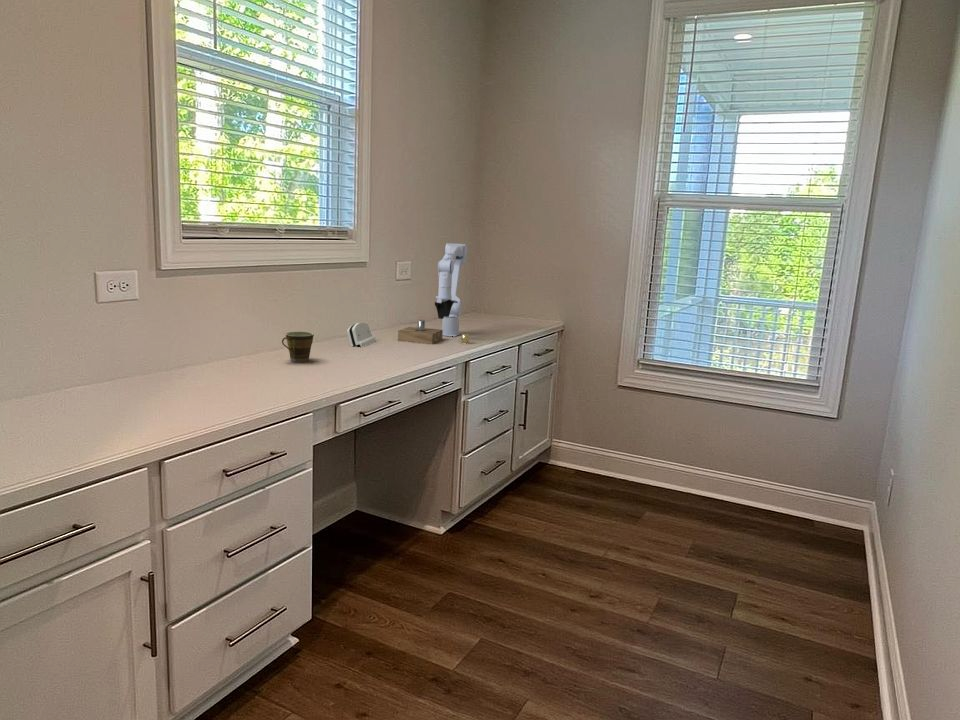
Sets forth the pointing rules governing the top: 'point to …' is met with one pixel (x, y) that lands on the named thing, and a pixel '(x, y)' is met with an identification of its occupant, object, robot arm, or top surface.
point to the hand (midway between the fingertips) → (443, 317)
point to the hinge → (360, 335)
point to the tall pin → (421, 325)
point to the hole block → (420, 335)
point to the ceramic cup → (299, 345)
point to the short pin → (465, 338)
